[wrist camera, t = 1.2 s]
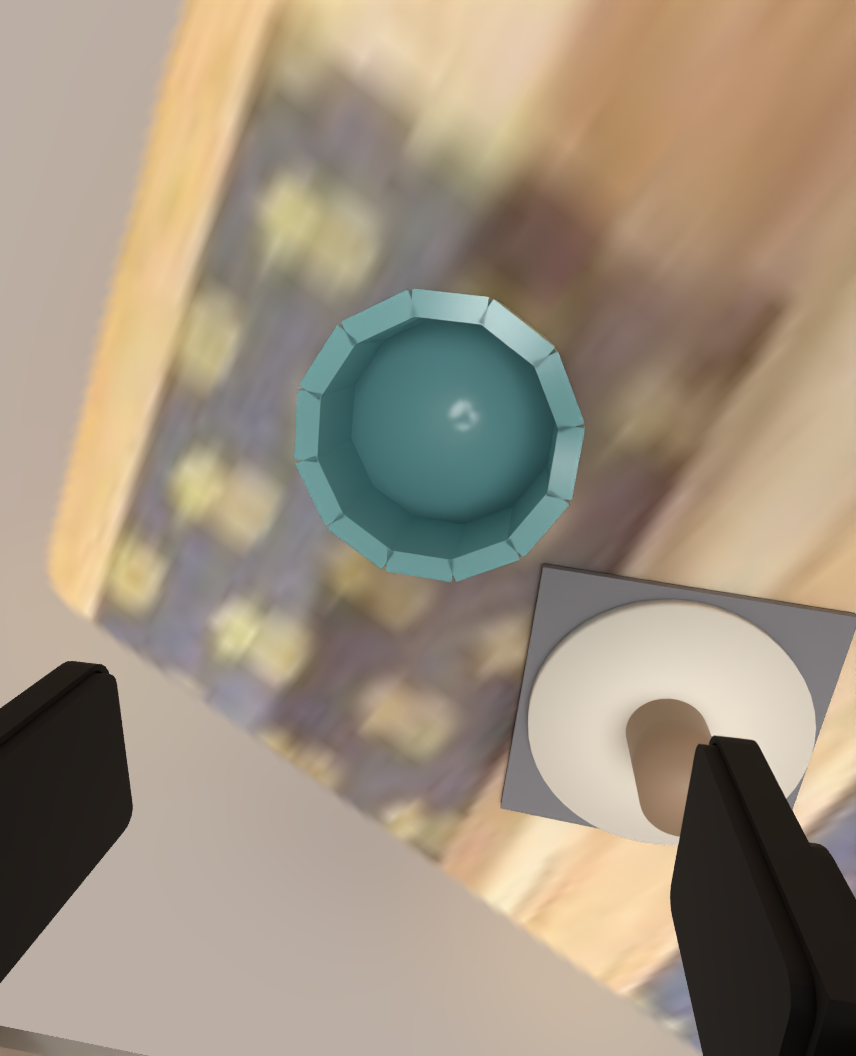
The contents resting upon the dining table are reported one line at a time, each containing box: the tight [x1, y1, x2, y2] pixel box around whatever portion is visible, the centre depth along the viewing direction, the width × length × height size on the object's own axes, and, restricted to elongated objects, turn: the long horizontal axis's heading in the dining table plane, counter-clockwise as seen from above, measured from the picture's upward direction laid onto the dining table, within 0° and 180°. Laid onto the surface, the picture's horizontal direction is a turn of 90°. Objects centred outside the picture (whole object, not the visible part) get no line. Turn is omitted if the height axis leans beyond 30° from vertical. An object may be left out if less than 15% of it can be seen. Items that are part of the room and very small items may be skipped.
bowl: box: [294, 289, 585, 582], centre depth 29 cm, size 12×12×6 cm
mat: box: [501, 564, 856, 829], centre depth 35 cm, size 15×15×1 cm
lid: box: [528, 599, 816, 845], centre depth 32 cm, size 14×14×6 cm
